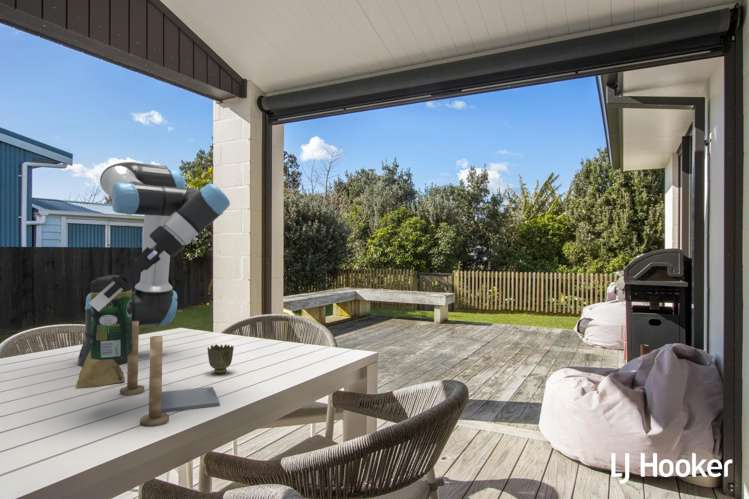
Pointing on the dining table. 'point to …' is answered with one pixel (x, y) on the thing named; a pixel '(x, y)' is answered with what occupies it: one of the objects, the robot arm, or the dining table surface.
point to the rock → (99, 373)
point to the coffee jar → (111, 323)
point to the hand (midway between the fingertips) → (96, 304)
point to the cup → (220, 357)
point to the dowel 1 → (133, 365)
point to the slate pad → (188, 399)
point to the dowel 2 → (155, 386)
